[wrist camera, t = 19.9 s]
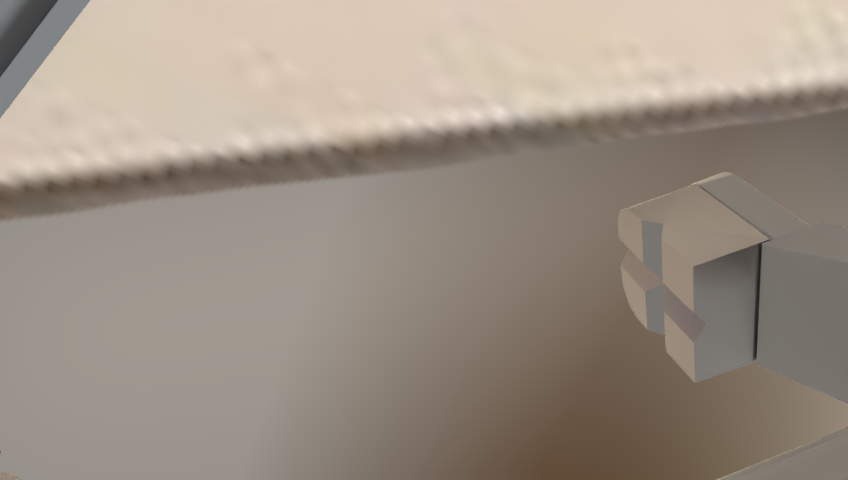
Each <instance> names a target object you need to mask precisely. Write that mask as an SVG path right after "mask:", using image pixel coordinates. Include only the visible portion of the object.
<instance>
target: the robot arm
mask: <svg viewBox="0 0 848 480" xmlns="http://www.w3.org/2000/svg"><path fill="white" fill-rule="evenodd" d="M618 237H619V239H620V240H621V241H622V242H623V243H624V244H625V245H626V246H627V247H628V248H629V251H628V253H627V255H626V257H625V258H624V260H623V262H622V264H621V273H622V282H623V288H624V291H625V293H626V296H627V299H628V302H629V305H630V307H631V308H632V310H633V311H634V313H635V315H636V317H637V318H638V319H639V321H640V322H641V323H642V324H643V325H644V327H645V328H646V329H647V330H649V331H652V332H656V333H659V334H662V335H665V344H666V351H667V353H668V354H669V355H670V356H671V357H672V358H673V359H674V360H675V361H676V363H677V364H678V365H679V366H680V367H681V368H682V369H683V370H684V371H685V372H686V374H687V375H688V376H689V377H690V378H691V379H692V380H693V381H694V382H695V383H696V382H699V381H702V380H705V379H708V378H710V377H713V376H716V375H719V374H722V373H725V372H728V371H730V370H733V369H736V368H739V367H742V366H745V365H748V364H751V363H754V362H756V361H757V362H756V364H757V365H759V366H761V367H763V368H765V369H768V370H770V371H772V372H775V373H777V374H780V375H782V376H784V377H787V378H789V379H791V380H794V381H796V382H798V383H801V384H803V385H805V386H808V387H811V388H813V389H815V390H817V391H820V392H822V393H825V394H827V395H829V396H831V397H834V398H836V399H839V400H841V401H843V402H846V403H848V227H843V226H838V225H833V224H826V223H818V224H816V225H813V226H809V225H808V224H806V223H805V222H804V221H802V220H801V219H799V218H798V217H796V216H795V215H793V214H792V213H790V212H789V211H787V210H786V209H785V208H783V207H782V206H780V205H779V204H777V203H776V202H774V201H773V200H771V199H770V198H768V197H767V196H765V195H764V194H763V193H761V192H760V191H758V190H757V189H755V188H754V187H752V186H751V185H749V184H748V183H746V182H745V181H744V180H742V179H741V178H739V177H738V176H736V175H735V174H732V173H726V172H723V173H720V174H717V175H715V176H712V177H709V178H707V179H704V180H702V181H699V182H696V183H693V184H691V185H689V186H688V187H686V188H683V189H680V190H677V191H674V192H671V193H668V194H666V195H663V196H660V197H657V198H654V199H651V200H649V201H646V202H643V203H640V204H637V205H634V206H632V207H629V208H626V209H623V210H621V211H620V213H619V217H618ZM0 453H1V451H0ZM0 480H21V479H20V478H19V477H17V476H14V475H12V474H9V473H6V472H3V471H0ZM717 480H848V427H847V428H845V429H842V430H840V431H837V432H835V433H832V434H830V435H827V436H825V437H822V438H820V439H817V440H815V441H812V442H810V443H807V444H805V445H802V446H800V447H797V448H795V449H792V450H790V451H787V452H785V453H782V454H780V455H777V456H775V457H772V458H770V459H767V460H765V461H762V462H760V463H757V464H755V465H752V466H750V467H747V468H745V469H742V470H740V471H737V472H735V473H732V474H730V475H727V476H725V477H722V478H720V479H717Z"/></svg>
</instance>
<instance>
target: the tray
mask: <svg viewBox="0 0 848 480" xmlns="http://www.w3.org/2000/svg"><path fill="white" fill-rule="evenodd" d="M89 1H90V0H0V118H1V117H2V115H3V114H4V113H5V111H6V110H7V109H8V107H9V106H10V105H11V103H12V102H13V101H14V99H15V98H16V97H17V96H18V94H19V93H20V92H21V90H22V89H23V88H24V86H25V85H26V84H27V82H28V81H29V80H30V78H31V77H32V76H33V74H34V73H35V72H36V71H37V69H38V68H39V67H40V65H41V64H42V63H43V61H44V60H45V59H46V57H47V56H48V55H49V53H50V52H51V51H52V50H53V48H54V47H55V46H56V44H57V43H58V42H59V40H60V39H61V38H62V36H63V35H64V34H65V32H66V31H67V30H68V29H69V27H70V26H71V25H72V23H73V22H74V21H75V19H76V18H77V17H78V15H79V14H80V13H81V11H82V10H83V9H84V8H85V6H86V5H87V4H88V2H89Z"/></svg>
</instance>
